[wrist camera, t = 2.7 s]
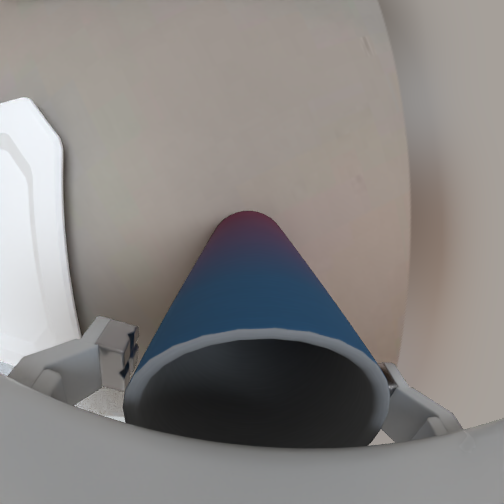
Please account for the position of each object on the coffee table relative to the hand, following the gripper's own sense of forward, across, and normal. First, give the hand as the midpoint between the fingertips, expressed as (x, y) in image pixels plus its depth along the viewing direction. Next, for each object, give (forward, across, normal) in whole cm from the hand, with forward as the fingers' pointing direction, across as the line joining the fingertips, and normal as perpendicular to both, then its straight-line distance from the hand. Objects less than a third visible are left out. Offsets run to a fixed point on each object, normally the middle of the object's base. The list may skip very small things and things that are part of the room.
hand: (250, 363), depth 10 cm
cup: (+12, 0, -1) cm, 12 cm away
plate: (+12, +25, +4) cm, 28 cm away
